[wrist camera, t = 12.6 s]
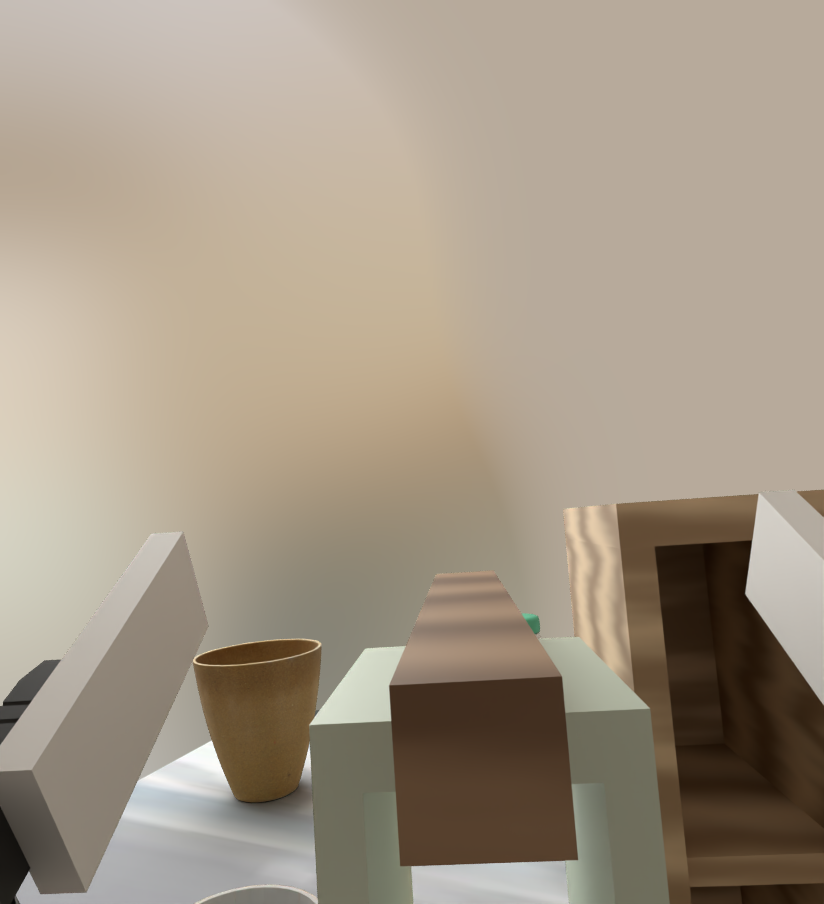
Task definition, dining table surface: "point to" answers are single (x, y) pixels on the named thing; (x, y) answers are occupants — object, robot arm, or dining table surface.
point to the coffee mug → (261, 896)
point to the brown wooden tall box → (707, 694)
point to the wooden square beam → (479, 734)
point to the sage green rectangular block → (592, 776)
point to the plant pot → (260, 712)
